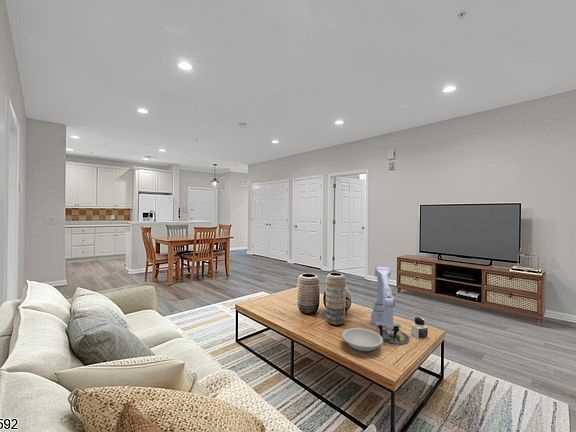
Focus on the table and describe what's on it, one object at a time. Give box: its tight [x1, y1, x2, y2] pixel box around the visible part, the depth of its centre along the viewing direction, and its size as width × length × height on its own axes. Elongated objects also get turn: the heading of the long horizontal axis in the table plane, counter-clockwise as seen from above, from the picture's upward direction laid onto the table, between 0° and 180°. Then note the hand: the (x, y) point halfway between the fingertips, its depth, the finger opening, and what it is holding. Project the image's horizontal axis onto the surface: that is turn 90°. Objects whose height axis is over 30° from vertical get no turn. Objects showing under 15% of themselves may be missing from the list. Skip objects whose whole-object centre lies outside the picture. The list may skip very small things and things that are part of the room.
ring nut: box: [384, 326, 404, 341], centre depth 180 cm, size 9×16×3 cm, turn 23°
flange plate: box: [379, 329, 410, 346], centre depth 180 cm, size 18×18×2 cm
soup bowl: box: [341, 327, 384, 352], centre depth 168 cm, size 24×24×7 cm
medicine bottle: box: [410, 316, 429, 340], centre depth 183 cm, size 7×7×12 cm
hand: (387, 337), depth 175 cm, fingers open, 7 cm apart
